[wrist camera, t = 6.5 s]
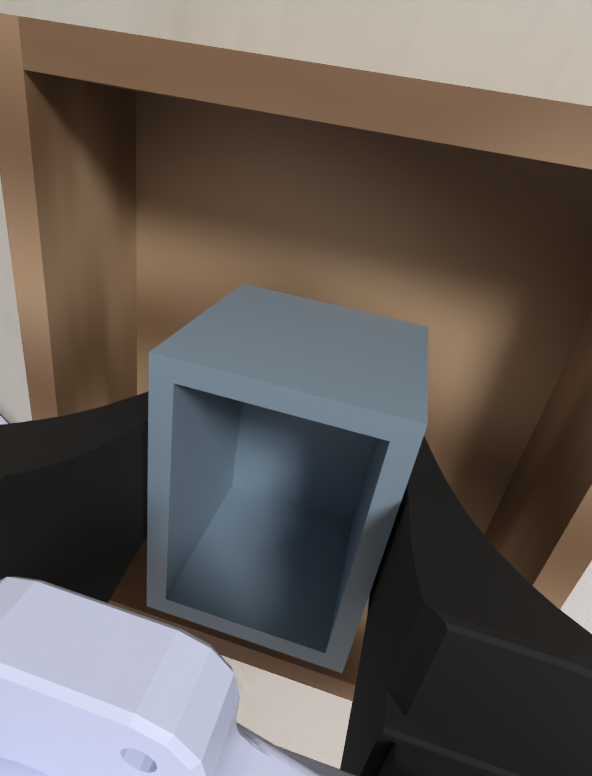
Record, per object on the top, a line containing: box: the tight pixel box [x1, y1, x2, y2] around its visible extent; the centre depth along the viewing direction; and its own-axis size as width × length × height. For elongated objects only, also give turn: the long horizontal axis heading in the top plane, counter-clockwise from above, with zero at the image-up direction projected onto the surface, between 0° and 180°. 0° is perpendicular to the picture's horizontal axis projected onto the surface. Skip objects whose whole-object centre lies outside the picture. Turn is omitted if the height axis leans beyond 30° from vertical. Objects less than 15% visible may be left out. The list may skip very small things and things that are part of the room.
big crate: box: [0, 13, 592, 701], centre depth 13 cm, size 16×14×4 cm
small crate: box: [147, 284, 428, 673], centre depth 12 cm, size 7×5×5 cm
